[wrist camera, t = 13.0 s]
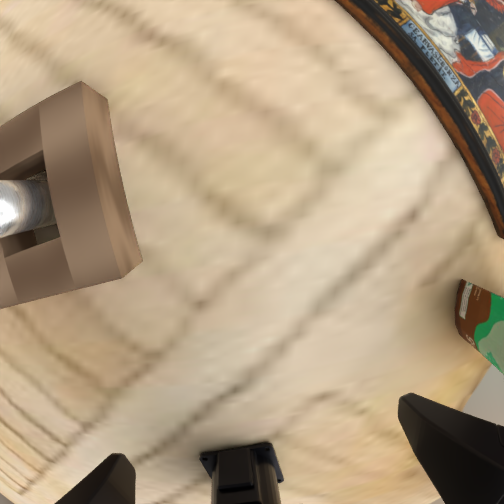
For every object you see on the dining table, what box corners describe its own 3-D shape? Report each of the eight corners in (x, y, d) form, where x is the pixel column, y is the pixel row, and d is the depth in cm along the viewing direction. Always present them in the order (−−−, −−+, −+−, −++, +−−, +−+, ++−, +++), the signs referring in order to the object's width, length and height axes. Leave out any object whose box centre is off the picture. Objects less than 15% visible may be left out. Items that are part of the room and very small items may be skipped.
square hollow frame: (142, 261, 18) (121, 278, 14) (24, 293, 18) (-7, 310, 14) (107, 99, 16) (80, 80, 12) (-6, 158, 16) (-39, 156, 12)
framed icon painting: (422, -95, 11) (430, -104, 8) (572, 82, 18) (583, 80, 15) (239, -25, 15) (241, -46, 13) (505, 265, 22) (524, 272, 19)
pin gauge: (75, 217, 17) (-2, 234, 10) (43, 229, 17) (-34, 250, 10) (66, 174, 17) (-13, 171, 9) (34, 188, 17) (-44, 193, 9)
